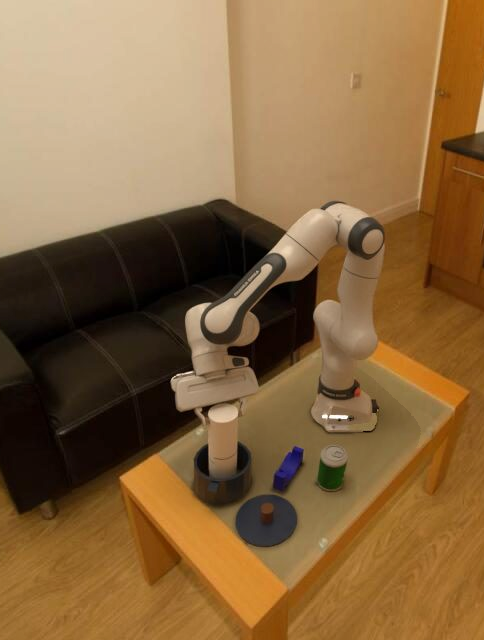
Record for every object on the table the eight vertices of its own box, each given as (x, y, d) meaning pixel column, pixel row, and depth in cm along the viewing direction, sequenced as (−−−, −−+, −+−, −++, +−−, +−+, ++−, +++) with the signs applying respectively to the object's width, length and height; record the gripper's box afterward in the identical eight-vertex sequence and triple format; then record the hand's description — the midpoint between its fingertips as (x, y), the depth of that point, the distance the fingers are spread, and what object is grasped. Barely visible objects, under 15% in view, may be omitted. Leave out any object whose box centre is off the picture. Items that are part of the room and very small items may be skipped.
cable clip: (288, 458, 146) (289, 443, 143) (302, 464, 145) (303, 449, 142) (268, 487, 136) (269, 472, 133) (282, 493, 135) (284, 478, 132)
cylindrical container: (229, 496, 131) (230, 425, 119) (204, 489, 132) (202, 418, 120) (240, 476, 137) (242, 407, 125) (216, 470, 138) (216, 400, 126)
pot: (257, 460, 144) (258, 436, 139) (240, 518, 126) (241, 492, 122) (207, 454, 143) (206, 429, 138) (182, 511, 126) (181, 485, 121)
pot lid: (300, 500, 134) (302, 487, 131) (291, 551, 120) (293, 538, 118) (243, 493, 133) (244, 480, 131) (228, 544, 120) (228, 530, 117)
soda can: (339, 496, 137) (345, 465, 131) (313, 490, 138) (317, 459, 132) (345, 476, 144) (350, 446, 138) (320, 470, 144) (324, 440, 138)
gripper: (170, 373, 117) (182, 430, 115) (253, 357, 128) (266, 409, 125) (167, 377, 122) (178, 432, 120) (247, 361, 133) (259, 412, 131)
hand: (223, 420), depth 123 cm, fingers open, 7 cm apart
